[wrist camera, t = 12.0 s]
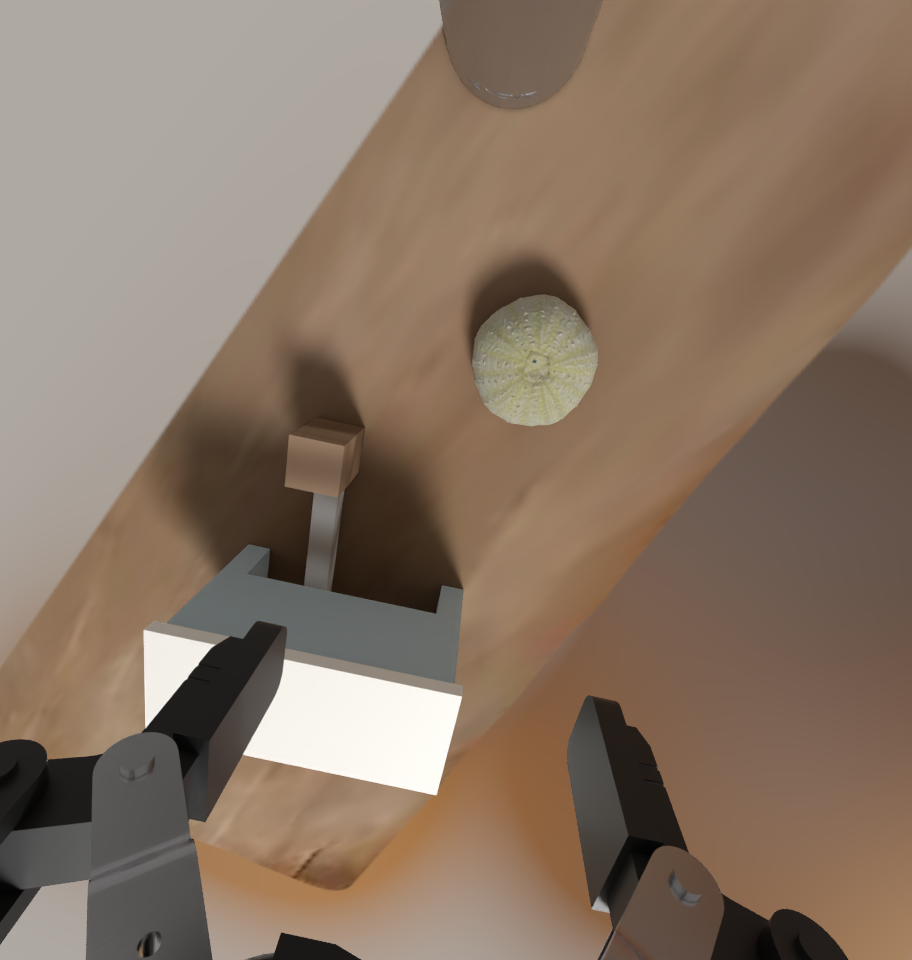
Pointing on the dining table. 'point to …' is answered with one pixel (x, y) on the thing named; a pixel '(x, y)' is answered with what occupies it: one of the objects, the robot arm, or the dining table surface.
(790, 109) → the dining table surface
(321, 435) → the wooden cube mallet
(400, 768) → the bench
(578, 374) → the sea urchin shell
